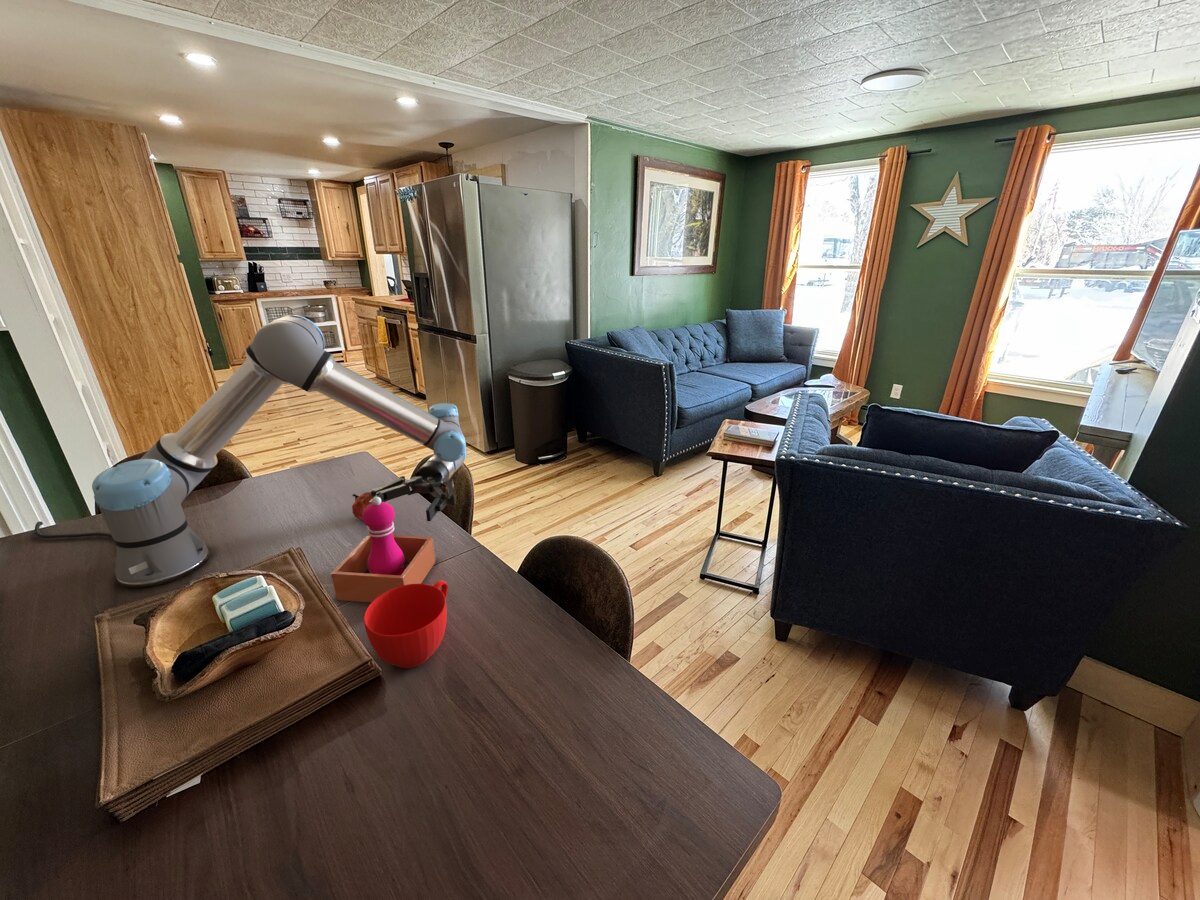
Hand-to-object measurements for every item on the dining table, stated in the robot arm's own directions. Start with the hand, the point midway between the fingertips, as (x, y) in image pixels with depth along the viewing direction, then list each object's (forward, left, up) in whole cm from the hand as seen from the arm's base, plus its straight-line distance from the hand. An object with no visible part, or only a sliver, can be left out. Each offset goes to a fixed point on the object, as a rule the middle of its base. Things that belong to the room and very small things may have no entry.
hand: (397, 514), depth 104 cm
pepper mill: (+2, -7, -12) cm, 14 cm away
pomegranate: (-22, +11, -12) cm, 27 cm away
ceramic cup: (+21, -19, -12) cm, 31 cm away
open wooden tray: (+2, -7, -12) cm, 14 cm away
